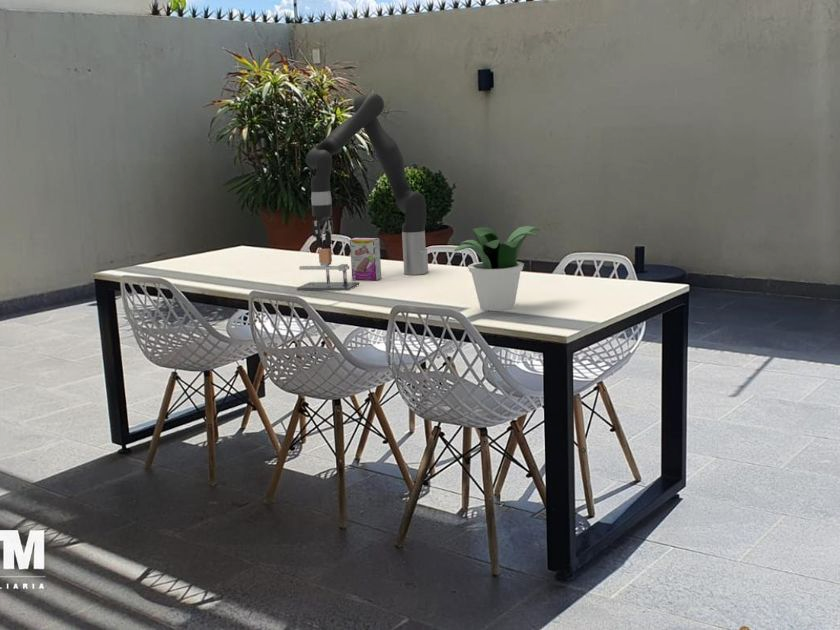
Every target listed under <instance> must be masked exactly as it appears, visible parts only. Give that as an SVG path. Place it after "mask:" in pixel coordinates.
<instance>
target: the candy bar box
mask: <svg viewBox="0 0 840 630" xmlns="http://www.w3.org/2000/svg"><path fill="white" fill-rule="evenodd" d="M380 243H381V242H380V238H377V237H373V238H372V237H371V238H370V237H353V238H350V239H349V248H350V249H349V250H350V251H349V252H350V263H351V265H350V267H351V279H356V280H357V281H379V280H381V279H382V267H381V266H382V263H381V250H380V249H381V245H380Z"/></svg>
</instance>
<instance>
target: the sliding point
mask: <svg viewBox="0 0 840 630" xmlns="http://www.w3.org/2000/svg"><path fill="white" fill-rule="evenodd" d="M332 258H333V257H332V248H319V249H318V260H319V262H318V263H319V264H320V265H319V266H331V265H332V262H333V260H332ZM325 273H326V274H325V275H326V282H327V284H330V282H331V280H330V279H331V278H330V270H325Z"/></svg>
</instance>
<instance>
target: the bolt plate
mask: <svg viewBox="0 0 840 630" xmlns="http://www.w3.org/2000/svg"><path fill="white" fill-rule="evenodd" d="M298 269H299V270H301V271H302V270H303V271H307V270H312V271H313V270H315V271H316V270H322V271H323V270H324V271H326V270H329V271H330V270H332V271H334V270H337V271H339V272H342V278H343V279H342V280H343V281H338V282H337V281H336V282H335V281H330V284H327V281H325V282H324V281H312V282H311V281H309V282H307V283H305V284H302V285H300V286H298V287H296V289H297V291H341V290H349V291H350V289H351V288H353V287H354V288H356V287H358V286H360V285H361V284H360V282H358V281H357V282H356V281H352V282H351V281H348V275H347V273H348V272H347V270H350V265H348V263H341V264H339V265H329V266H320V265H299V267H298ZM359 284H360V285H359ZM357 285H358V286H357ZM355 286H356V287H355ZM354 288H353V289H354ZM351 290H352V289H351Z"/></svg>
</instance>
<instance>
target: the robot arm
mask: <svg viewBox="0 0 840 630" xmlns="http://www.w3.org/2000/svg"><path fill="white" fill-rule="evenodd" d="M352 107H353V112H354V114H353V115H351V116H349V118H348V119H346V120H344V121H343V122H341V123H340V124H339V125H338V126H336V127H335V128H334V129H333V130H332V131H331V132H330V133H329V135H327V136H326V137H325V139H324V140H322V141H321V142H319V143H318V144H316V145H315V146H314V147H312V148H311V149H310V150H309V151H308V153H307V154H306V157H305V163H306V165H307V166H308V168H310V169H313V170H315V175H314V176H312V177H311V179H310V187H311V195H310V198H311V199H310V200H311V214H312V217H315V218H316V219H315V220H312V236H313V237H314V238H315V239H316V248H318V249H323V247H324V243H323V234H324V240H325V241H324V242H325V245H326V246H331V245H332V234H333V233H334V230H335V229H334V222H333V221H334V220H333V206H332V205H333V204H332V194H331V182H330V178H331V174H332V170H333V169H332V168H333V157H332V156H333V155H336V154H338V153H340V151H341V150H342V149H344V147H345V146H346V145H347V144H348V143H349V142H350V141H351V139H353V138H354V137H355V135H356V134H358V133H359V132H360V131H361V130H362V129H363V130H364V131H365V134H366V135H367V137H368V139H369V142H370V143H371V146H372V149H373V150H374V152H375V155H376V158H377V159H378V162H379V165H380V166H381V168H382V170H383V172H384V175H385V177H386V178H387V181H388V183H389V186H390V188H391V191H392V193H393V196H394V199H395V202H396V205H397V207H398V209H399V210H400V211H401V212H402V213H403V214H405V217H404V218H405V221H404V223H403V224H402V225H401V236H402V237H401V239H402V256H403V257H402V258H403V273H404V275H407V276H414V275H415V276H416V275H425V274H427V273H429V260H428V259H429V258H428V248H426V233H425V232H426V231H425V228H426V227H425V226H426V223H427V204H426V203H427V202H426V199H425V197H424V195H423V194H422V193H421V192H418V191H413V190H412V188H411V186H410V184H409V182H408V179H407V177H406V172H405V170H406V169H405V161H404V158H403V154H402V152H401V150H400V148H399V145H398V144H397V142H396V140H394V138H393V137H392V136H391V135H390V134H389V133H388V132H387V131H386V130H385V129H384V128H383V126H382V124H381V123H380V121H379V119H378V116H380V115H381V114H382V113H383V111H384V107H385V102H384V100H383V97H382V96H381V95H379V94H378V93H375V92H370V93H364V94H360V95H358V96H356V97H355V98H354V100H353V105H352Z"/></svg>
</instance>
